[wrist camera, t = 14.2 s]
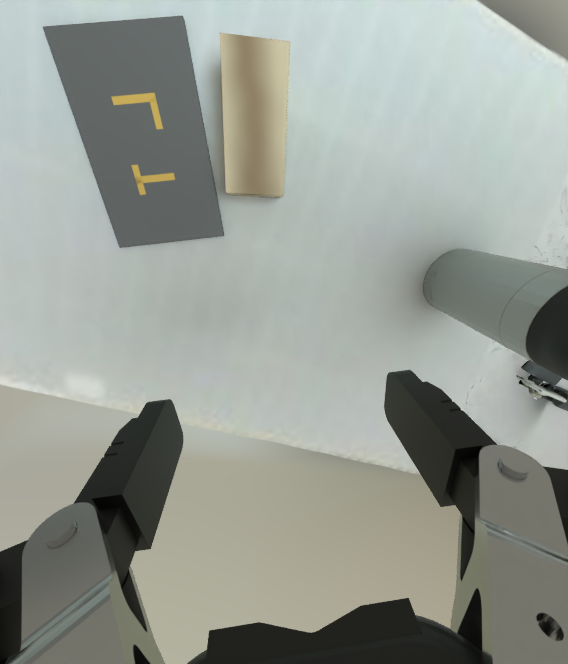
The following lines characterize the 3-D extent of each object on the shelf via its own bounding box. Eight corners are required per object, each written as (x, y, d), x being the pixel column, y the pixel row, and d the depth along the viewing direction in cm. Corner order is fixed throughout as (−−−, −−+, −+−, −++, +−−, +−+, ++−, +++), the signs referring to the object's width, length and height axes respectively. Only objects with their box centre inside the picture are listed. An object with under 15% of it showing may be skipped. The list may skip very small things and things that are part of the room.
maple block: (283, 72, 29) (290, 41, 23) (279, 197, 34) (283, 195, 28) (226, 66, 28) (219, 32, 23) (230, 194, 33) (225, 192, 28)
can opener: (504, 380, 50) (529, 397, 46) (530, 353, 48) (559, 368, 44) (566, 411, 55) (593, 429, 51) (592, 388, 53) (623, 405, 49)
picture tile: (184, 19, 26) (182, 15, 26) (224, 235, 35) (223, 235, 34) (47, 30, 26) (42, 26, 25) (121, 247, 34) (119, 247, 34)
